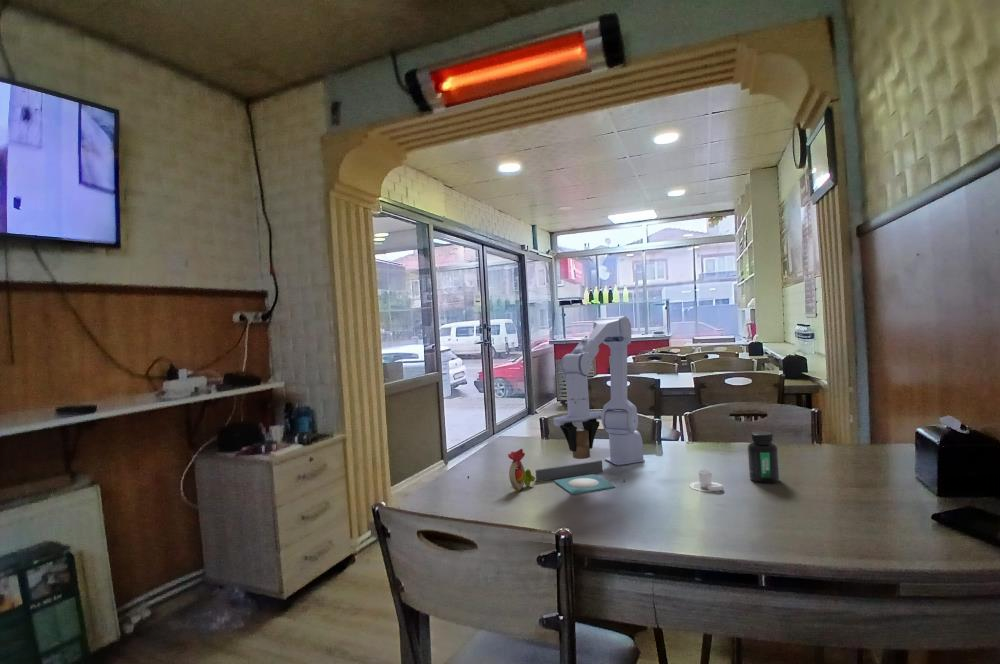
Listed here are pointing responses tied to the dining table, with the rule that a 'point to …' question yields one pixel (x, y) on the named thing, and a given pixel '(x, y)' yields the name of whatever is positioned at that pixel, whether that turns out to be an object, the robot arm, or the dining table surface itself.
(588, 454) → the walnut cylinder
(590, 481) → the mat
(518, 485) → the bird rattle
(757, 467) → the supplement bottle
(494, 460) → the dining table surface
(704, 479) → the teacup and saucer
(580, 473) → the low wall
